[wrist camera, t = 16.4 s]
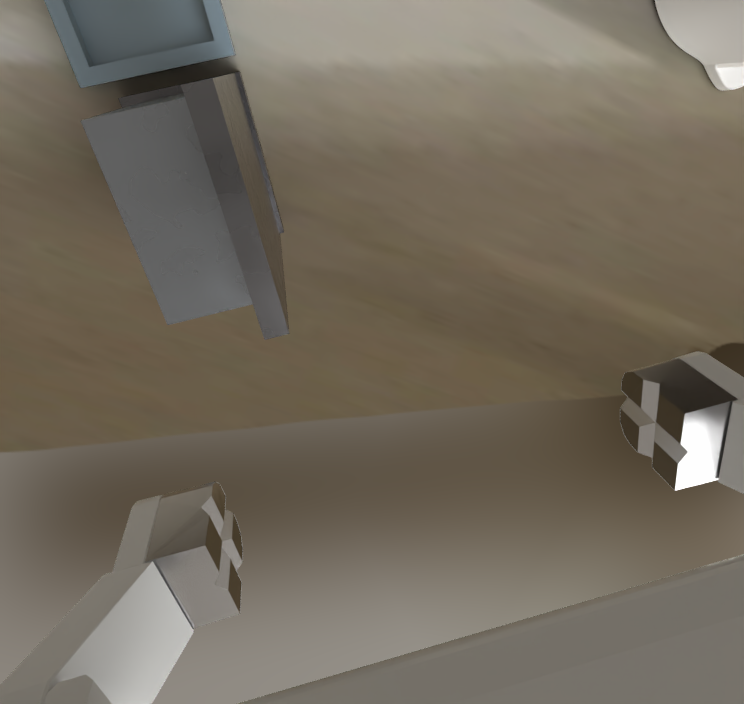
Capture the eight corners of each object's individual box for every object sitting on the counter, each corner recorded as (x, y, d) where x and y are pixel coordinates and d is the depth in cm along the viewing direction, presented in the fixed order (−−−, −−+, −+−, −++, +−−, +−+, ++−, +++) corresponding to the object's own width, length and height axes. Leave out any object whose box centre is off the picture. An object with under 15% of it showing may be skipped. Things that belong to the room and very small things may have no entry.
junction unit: (240, 71, 36) (220, 76, 20) (283, 227, 42) (295, 332, 25) (123, 97, 36) (4, 123, 19) (182, 251, 41) (128, 373, 25)
